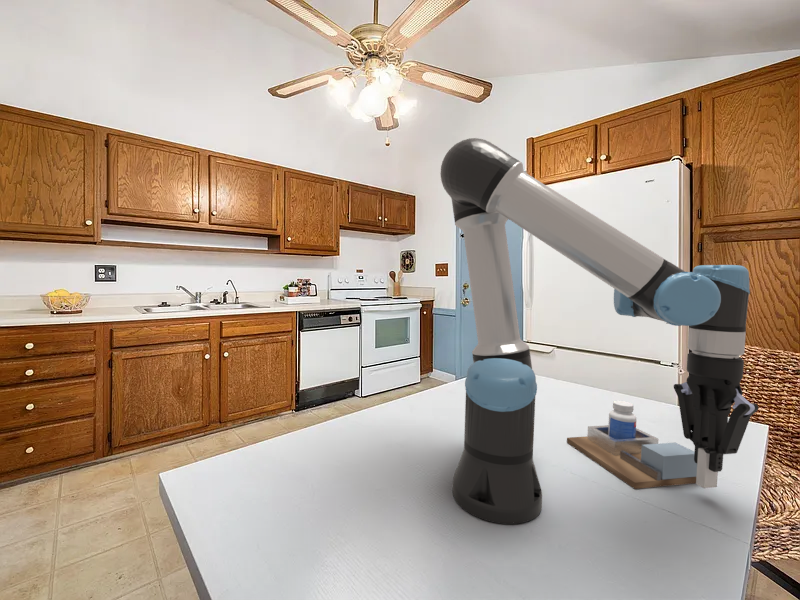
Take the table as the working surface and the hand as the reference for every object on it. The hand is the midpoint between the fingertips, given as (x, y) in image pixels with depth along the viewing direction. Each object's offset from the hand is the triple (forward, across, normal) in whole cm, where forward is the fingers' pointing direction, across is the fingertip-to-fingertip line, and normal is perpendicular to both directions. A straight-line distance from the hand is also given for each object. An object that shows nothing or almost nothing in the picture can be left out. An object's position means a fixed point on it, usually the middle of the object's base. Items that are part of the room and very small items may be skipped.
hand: (706, 485), depth 66 cm
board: (+3, +15, +2) cm, 15 cm away
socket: (+1, +19, 0) cm, 19 cm away
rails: (+1, +9, 0) cm, 10 cm away
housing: (+1, +7, 0) cm, 8 cm away
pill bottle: (+2, +19, 0) cm, 19 cm away
